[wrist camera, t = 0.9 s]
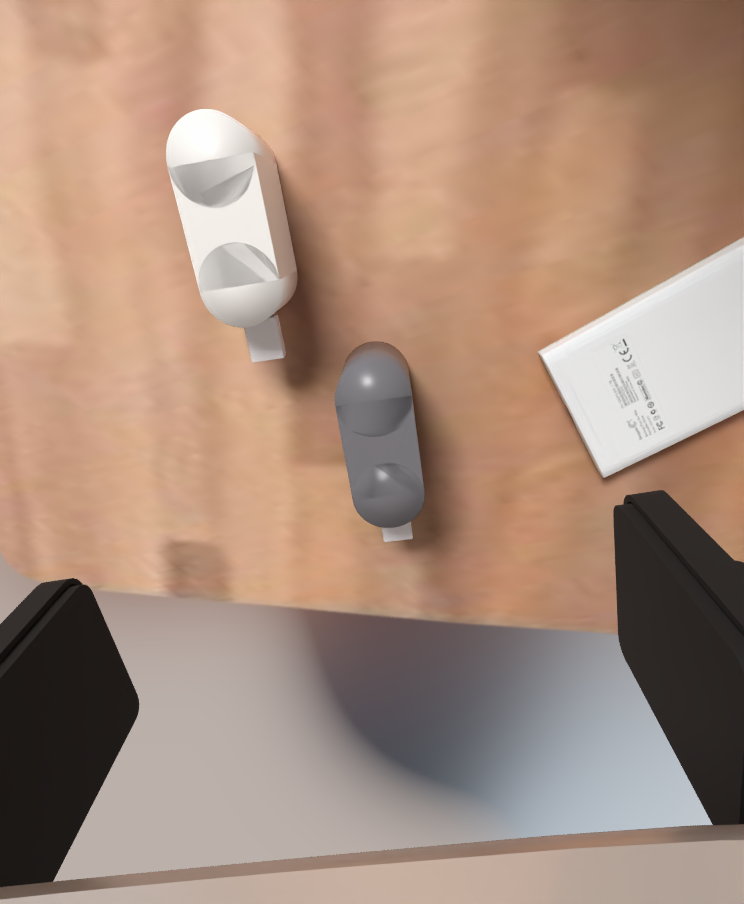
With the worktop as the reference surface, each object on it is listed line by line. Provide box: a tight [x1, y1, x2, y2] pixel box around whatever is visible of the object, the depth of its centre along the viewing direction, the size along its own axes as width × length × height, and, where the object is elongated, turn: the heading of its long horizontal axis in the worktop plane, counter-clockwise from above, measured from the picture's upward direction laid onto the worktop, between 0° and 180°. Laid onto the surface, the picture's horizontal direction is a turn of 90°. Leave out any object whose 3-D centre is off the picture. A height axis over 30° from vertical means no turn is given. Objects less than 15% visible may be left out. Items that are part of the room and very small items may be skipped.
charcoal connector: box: [335, 342, 425, 542], centre depth 31 cm, size 11×4×5 cm, turn 9°
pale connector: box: [166, 109, 298, 362], centre depth 27 cm, size 11×4×5 cm, turn 9°
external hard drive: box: [538, 237, 744, 478], centre depth 31 cm, size 2×8×12 cm
